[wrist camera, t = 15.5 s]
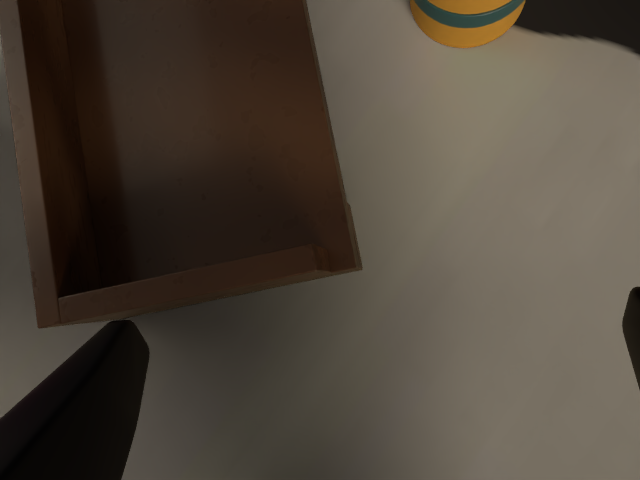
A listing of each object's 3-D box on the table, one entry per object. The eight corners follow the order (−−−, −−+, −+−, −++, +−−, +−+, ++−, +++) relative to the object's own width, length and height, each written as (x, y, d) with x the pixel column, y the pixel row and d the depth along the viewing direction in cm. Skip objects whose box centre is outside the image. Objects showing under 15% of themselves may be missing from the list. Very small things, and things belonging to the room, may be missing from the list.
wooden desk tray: (363, 269, 23) (345, 265, 18) (118, 319, 25) (37, 328, 20) (273, -170, 26) (234, -289, 21) (58, -93, 28) (-28, -183, 23)
